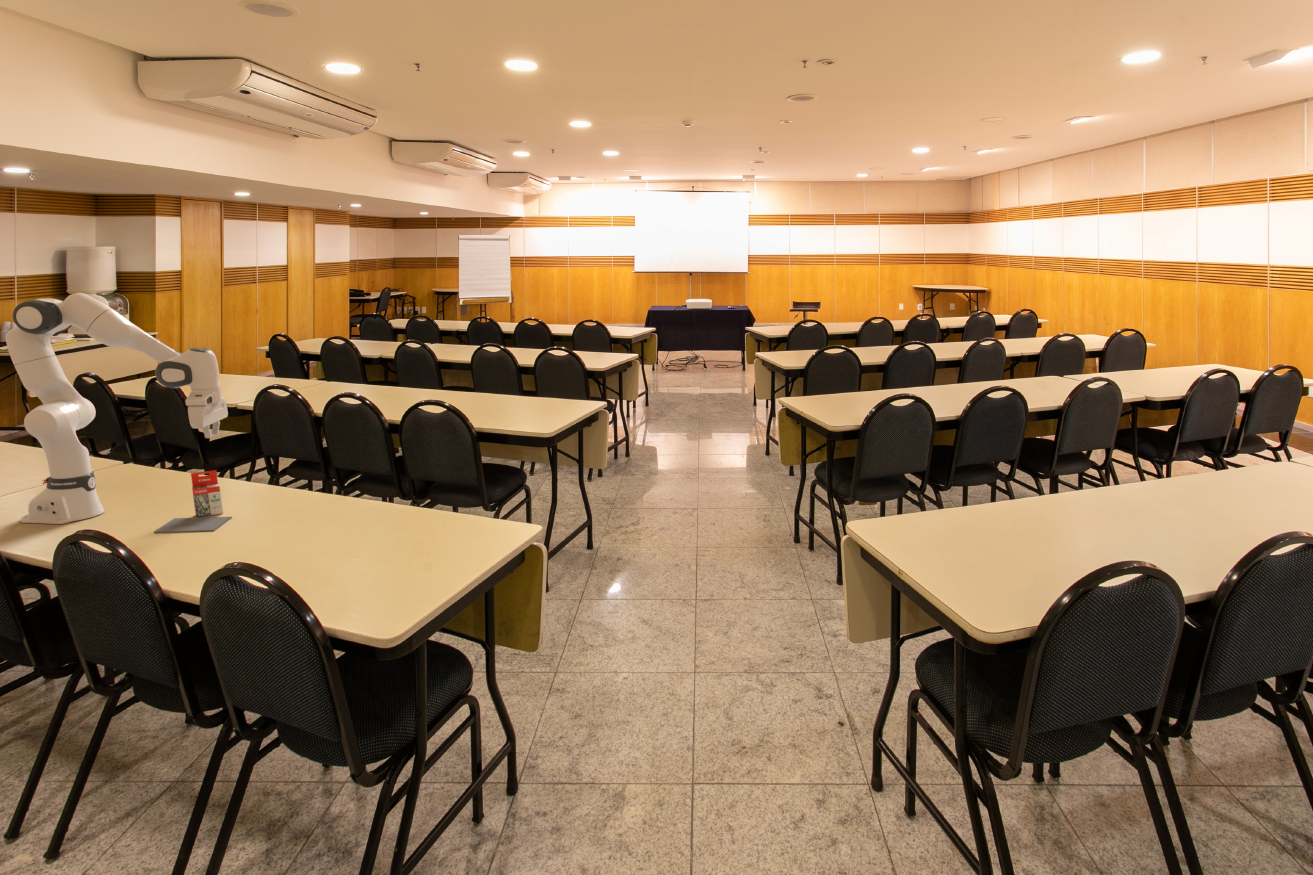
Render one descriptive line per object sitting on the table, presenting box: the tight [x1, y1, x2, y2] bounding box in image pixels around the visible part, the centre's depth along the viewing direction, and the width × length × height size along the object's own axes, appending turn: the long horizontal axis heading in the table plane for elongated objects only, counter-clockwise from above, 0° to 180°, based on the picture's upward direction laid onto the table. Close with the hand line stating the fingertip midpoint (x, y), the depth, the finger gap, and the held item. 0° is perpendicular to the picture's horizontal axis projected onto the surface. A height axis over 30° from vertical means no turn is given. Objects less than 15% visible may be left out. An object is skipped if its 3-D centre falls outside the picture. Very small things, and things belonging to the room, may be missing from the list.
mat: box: [153, 516, 233, 534], centre depth 247 cm, size 18×13×1 cm
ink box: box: [190, 469, 224, 518], centre depth 256 cm, size 4×8×15 cm, turn 124°
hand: (212, 435), depth 261 cm, fingers open, 4 cm apart
